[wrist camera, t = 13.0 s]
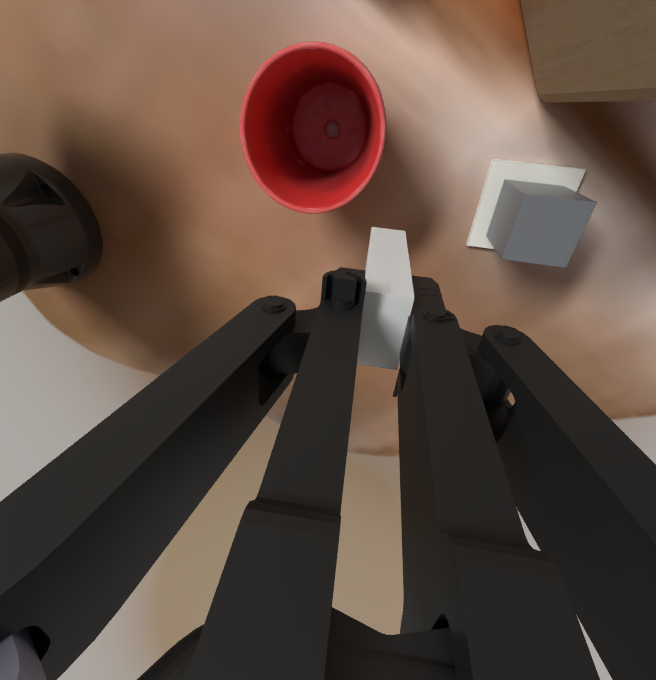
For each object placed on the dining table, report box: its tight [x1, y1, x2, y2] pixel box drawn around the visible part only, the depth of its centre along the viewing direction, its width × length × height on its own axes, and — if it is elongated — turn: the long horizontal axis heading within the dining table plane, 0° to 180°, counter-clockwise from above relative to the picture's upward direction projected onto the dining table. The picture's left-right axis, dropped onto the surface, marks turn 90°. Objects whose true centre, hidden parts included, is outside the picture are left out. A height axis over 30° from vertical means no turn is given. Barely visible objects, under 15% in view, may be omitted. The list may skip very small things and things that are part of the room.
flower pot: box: [240, 42, 386, 214], centre depth 30 cm, size 11×11×10 cm
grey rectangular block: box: [486, 179, 597, 268], centre depth 31 cm, size 5×5×7 cm
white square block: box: [466, 159, 586, 249], centre depth 32 cm, size 8×8×7 cm
